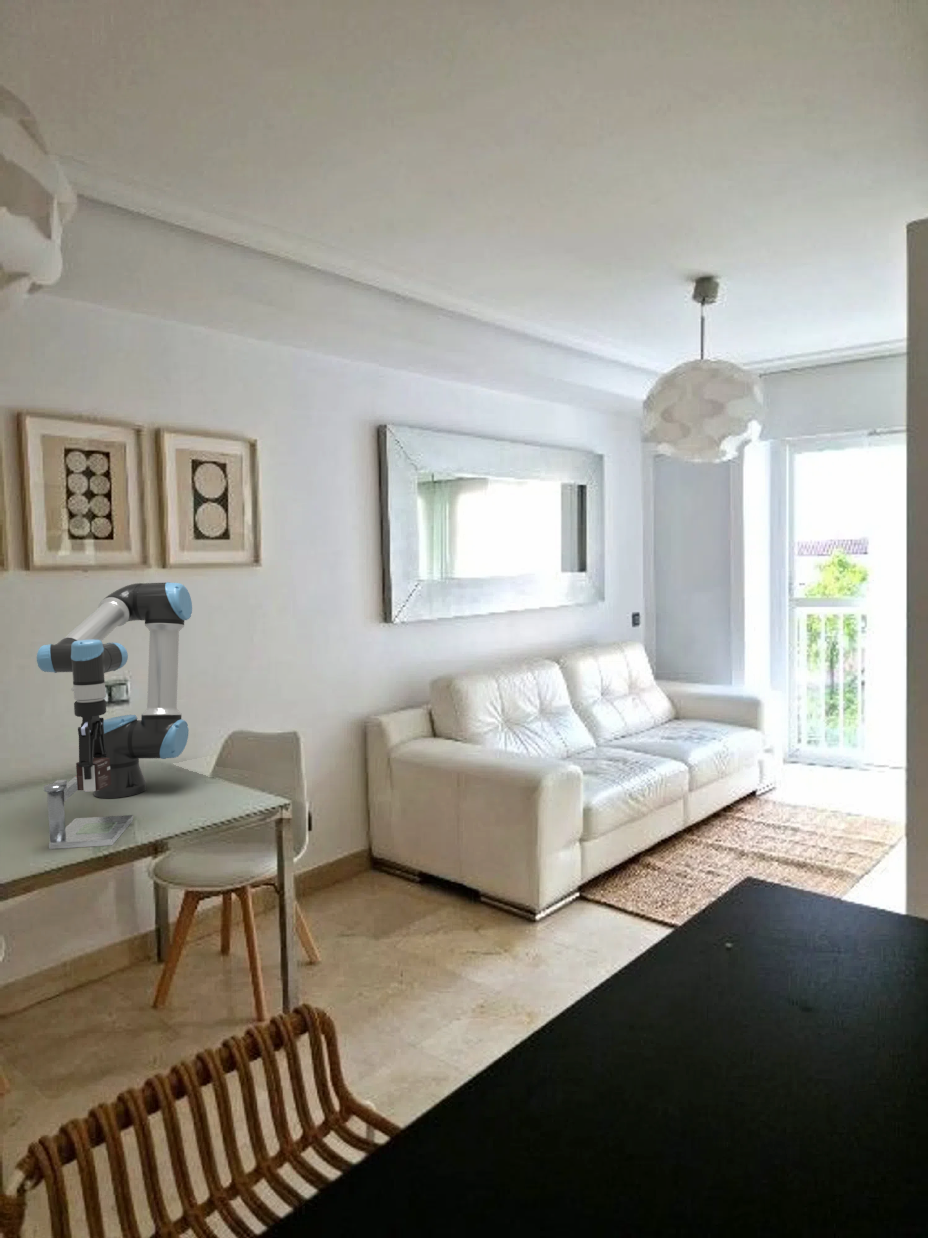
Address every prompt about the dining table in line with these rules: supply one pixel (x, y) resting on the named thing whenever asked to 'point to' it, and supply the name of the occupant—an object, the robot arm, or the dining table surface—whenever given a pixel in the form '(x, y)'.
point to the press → (82, 827)
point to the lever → (63, 787)
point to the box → (96, 774)
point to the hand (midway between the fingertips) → (94, 786)
